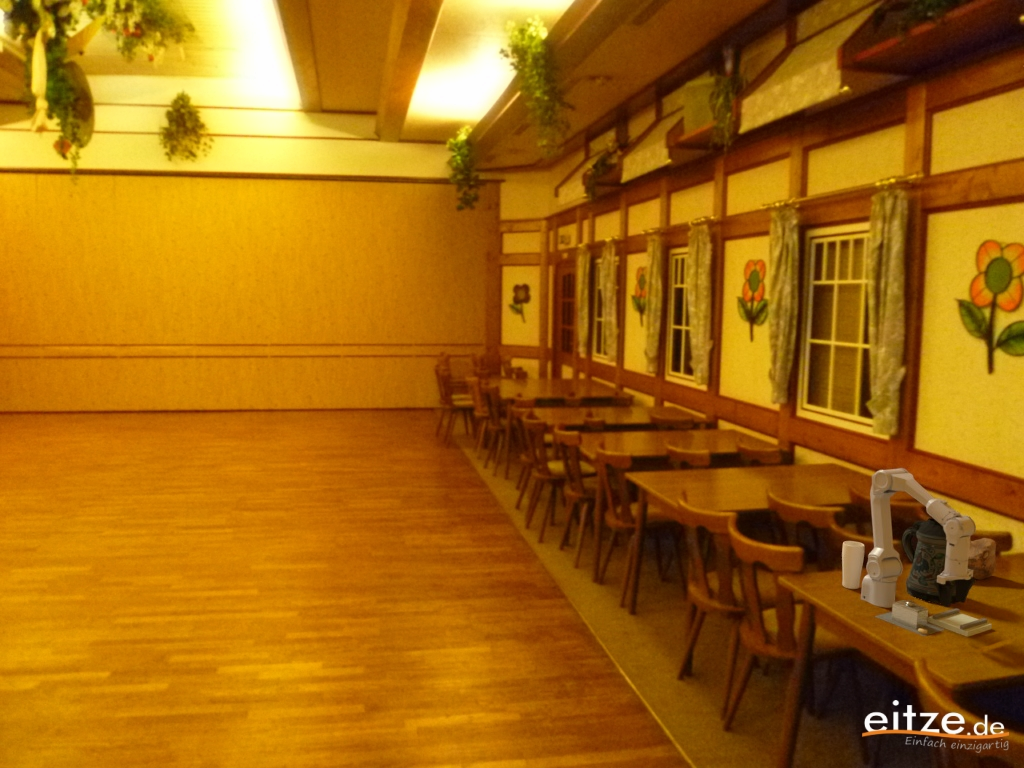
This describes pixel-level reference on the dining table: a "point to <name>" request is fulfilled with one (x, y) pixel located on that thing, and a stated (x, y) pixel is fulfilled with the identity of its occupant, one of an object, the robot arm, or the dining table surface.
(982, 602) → the dining table surface
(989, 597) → the dining table surface
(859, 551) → the drinking glass
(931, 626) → the mat
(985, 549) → the rough brown rock
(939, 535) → the beer stein
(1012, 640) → the dining table surface
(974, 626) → the stand
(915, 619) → the housing
